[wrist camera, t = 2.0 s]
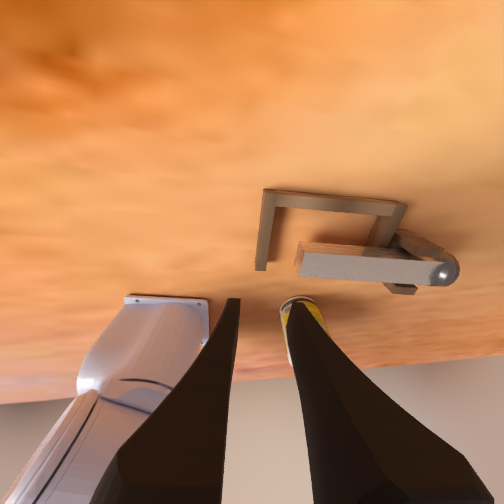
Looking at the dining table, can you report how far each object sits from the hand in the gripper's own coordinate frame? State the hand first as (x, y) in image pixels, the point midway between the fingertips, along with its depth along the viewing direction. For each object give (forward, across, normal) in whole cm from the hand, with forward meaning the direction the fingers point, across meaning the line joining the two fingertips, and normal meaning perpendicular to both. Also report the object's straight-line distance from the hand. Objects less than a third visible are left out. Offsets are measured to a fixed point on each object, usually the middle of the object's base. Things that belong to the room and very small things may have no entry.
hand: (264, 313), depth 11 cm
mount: (+9, -7, -1) cm, 12 cm away
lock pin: (+8, -10, 0) cm, 13 cm away
